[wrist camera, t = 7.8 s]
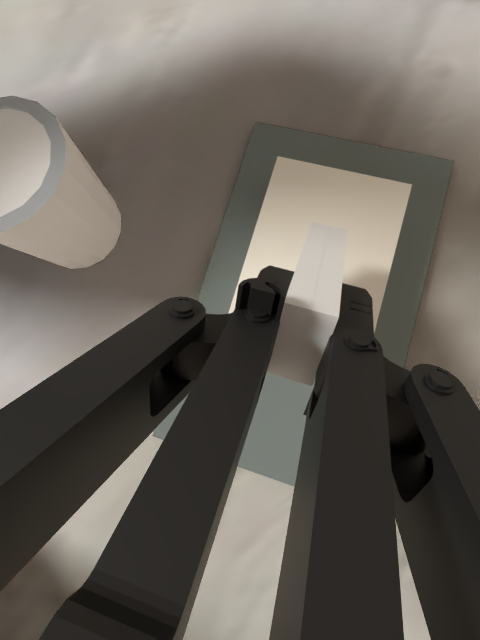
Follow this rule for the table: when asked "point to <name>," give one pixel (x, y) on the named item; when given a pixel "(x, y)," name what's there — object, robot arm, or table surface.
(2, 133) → the white cup
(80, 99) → the table surface
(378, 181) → the cream rectangular block
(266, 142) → the mat
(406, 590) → the table surface
